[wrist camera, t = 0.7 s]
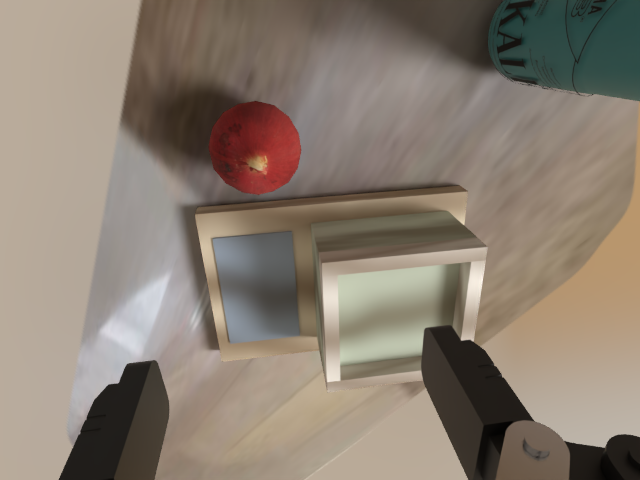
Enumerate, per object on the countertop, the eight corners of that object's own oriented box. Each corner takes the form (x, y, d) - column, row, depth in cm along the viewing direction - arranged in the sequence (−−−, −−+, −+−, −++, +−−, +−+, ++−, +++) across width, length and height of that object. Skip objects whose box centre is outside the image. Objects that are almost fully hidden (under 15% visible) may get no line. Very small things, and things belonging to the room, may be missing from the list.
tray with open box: (197, 207, 32) (179, 255, 25) (459, 185, 34) (513, 224, 27) (223, 350, 38) (214, 422, 31) (444, 324, 40) (484, 386, 33)
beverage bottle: (579, 8, 29) (1077, -43, 11) (523, 98, 32) (866, 173, 14) (508, -41, 27) (971, -195, 10) (454, 58, 30) (747, 84, 12)
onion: (226, 181, 31) (216, 223, 24) (205, 103, 29) (187, 123, 22) (301, 168, 32) (314, 204, 25) (288, 89, 29) (297, 104, 22)
